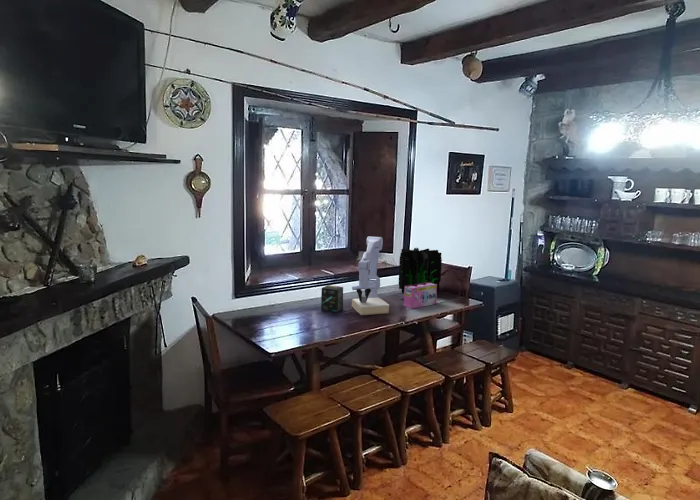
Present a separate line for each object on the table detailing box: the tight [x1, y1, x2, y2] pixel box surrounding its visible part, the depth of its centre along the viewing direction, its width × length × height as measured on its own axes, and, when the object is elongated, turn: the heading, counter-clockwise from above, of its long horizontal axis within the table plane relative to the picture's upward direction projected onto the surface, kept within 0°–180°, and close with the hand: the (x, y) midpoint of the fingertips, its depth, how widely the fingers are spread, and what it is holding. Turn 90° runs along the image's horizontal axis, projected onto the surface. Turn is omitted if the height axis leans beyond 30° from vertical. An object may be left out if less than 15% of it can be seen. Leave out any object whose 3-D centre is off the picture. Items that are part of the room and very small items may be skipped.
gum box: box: [403, 282, 438, 309], centre depth 307 cm, size 24×8×14 cm, turn 125°
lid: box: [351, 294, 390, 308], centre depth 292 cm, size 18×18×5 cm
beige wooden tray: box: [351, 300, 390, 316], centre depth 293 cm, size 18×18×4 cm
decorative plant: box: [398, 247, 443, 294], centre depth 343 cm, size 29×30×30 cm
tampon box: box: [320, 284, 344, 314], centre depth 290 cm, size 11×9×15 cm
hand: (363, 300), depth 290 cm, fingers closed on lid, 3 cm apart
